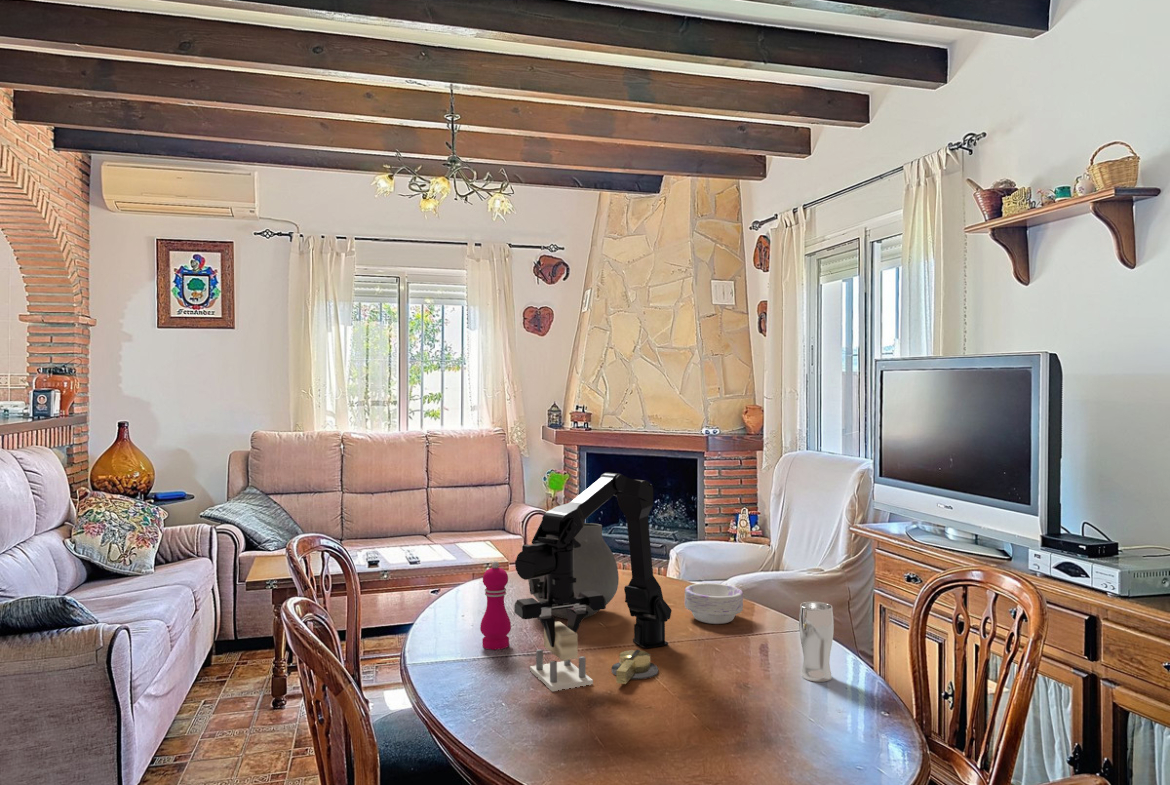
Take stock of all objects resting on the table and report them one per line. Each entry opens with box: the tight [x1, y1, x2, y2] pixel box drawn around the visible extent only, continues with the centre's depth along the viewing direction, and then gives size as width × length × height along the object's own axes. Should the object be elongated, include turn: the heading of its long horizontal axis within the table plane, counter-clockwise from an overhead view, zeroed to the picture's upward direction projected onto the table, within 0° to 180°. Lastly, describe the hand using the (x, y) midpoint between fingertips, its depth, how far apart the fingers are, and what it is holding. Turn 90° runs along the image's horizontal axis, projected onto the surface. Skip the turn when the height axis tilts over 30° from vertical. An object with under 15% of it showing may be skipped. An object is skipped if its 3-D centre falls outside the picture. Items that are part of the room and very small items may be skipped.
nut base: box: [611, 662, 659, 680], centre depth 170 cm, size 10×10×1 cm
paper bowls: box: [684, 582, 744, 625], centre depth 209 cm, size 15×15×8 cm
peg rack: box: [529, 648, 594, 692], centre depth 167 cm, size 13×9×5 cm
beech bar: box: [543, 620, 579, 661], centre depth 167 cm, size 10×4×5 cm, turn 24°
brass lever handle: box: [615, 648, 651, 685], centre depth 167 cm, size 14×7×3 cm, turn 161°
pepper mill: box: [479, 560, 512, 651], centre depth 188 cm, size 7×7×20 cm
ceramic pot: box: [528, 522, 620, 620], centre depth 214 cm, size 24×24×25 cm
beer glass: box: [798, 601, 835, 683], centre depth 166 cm, size 7×7×15 cm
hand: (560, 645), depth 167 cm, fingers closed on beech bar, 3 cm apart
